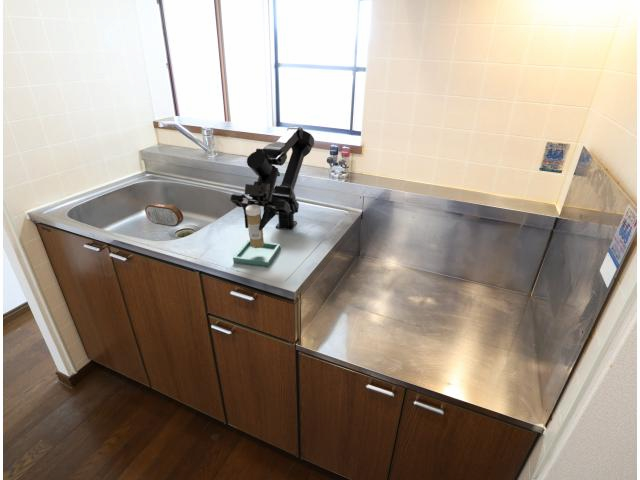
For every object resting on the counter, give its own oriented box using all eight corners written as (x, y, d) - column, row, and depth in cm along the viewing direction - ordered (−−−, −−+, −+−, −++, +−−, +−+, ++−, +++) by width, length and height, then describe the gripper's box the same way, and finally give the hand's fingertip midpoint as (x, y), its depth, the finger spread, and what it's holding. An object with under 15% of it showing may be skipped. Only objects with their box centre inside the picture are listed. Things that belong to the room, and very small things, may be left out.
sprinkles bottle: (266, 242, 121) (262, 204, 114) (261, 249, 117) (257, 211, 110) (253, 240, 122) (249, 203, 115) (247, 247, 118) (242, 209, 111)
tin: (185, 225, 141) (181, 204, 137) (180, 228, 138) (176, 208, 134) (152, 220, 145) (147, 200, 141) (146, 223, 142) (141, 203, 138)
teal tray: (248, 245, 127) (248, 240, 126) (280, 249, 125) (280, 244, 124) (233, 262, 117) (232, 257, 116) (268, 267, 115) (267, 262, 114)
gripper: (228, 168, 114) (214, 216, 110) (284, 175, 108) (270, 225, 105) (244, 183, 124) (231, 227, 121) (296, 190, 119) (284, 236, 115)
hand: (253, 229), depth 115 cm, fingers closed on sprinkles bottle, 4 cm apart
